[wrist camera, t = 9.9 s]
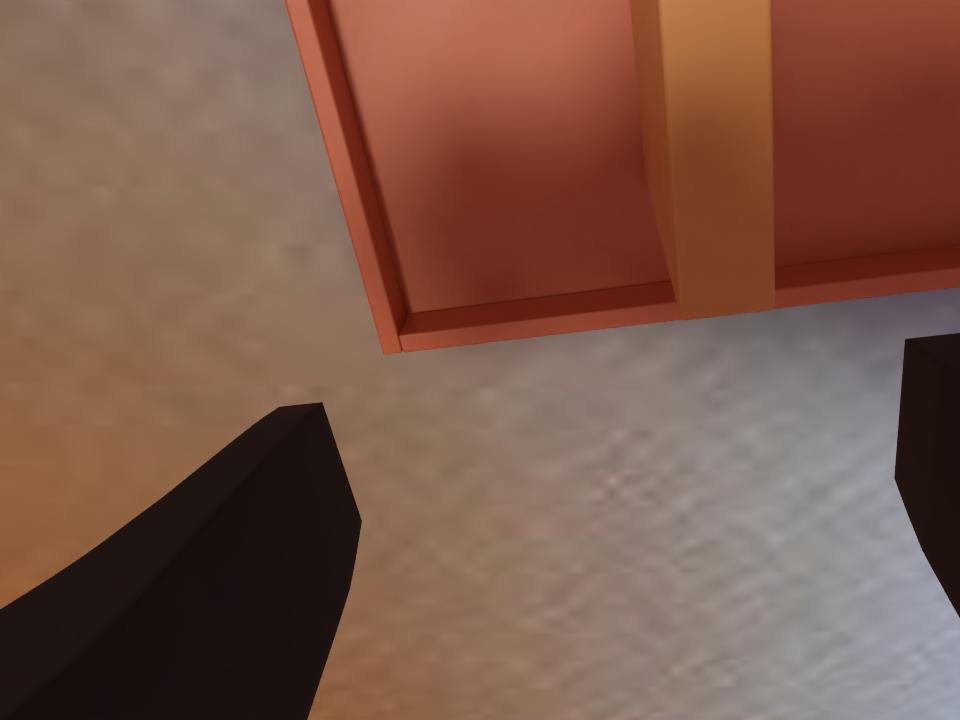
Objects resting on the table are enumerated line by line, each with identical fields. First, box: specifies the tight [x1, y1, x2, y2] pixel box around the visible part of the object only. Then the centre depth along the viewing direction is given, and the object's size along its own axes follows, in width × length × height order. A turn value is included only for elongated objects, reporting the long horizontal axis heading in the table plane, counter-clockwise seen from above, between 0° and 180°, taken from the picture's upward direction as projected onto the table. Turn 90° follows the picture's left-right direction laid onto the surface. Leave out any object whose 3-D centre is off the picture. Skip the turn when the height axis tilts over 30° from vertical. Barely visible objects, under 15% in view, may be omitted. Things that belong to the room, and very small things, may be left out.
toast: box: [630, 0, 775, 320], centre depth 14 cm, size 1×6×7 cm, turn 11°
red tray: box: [285, 0, 960, 354], centre depth 17 cm, size 15×12×2 cm
